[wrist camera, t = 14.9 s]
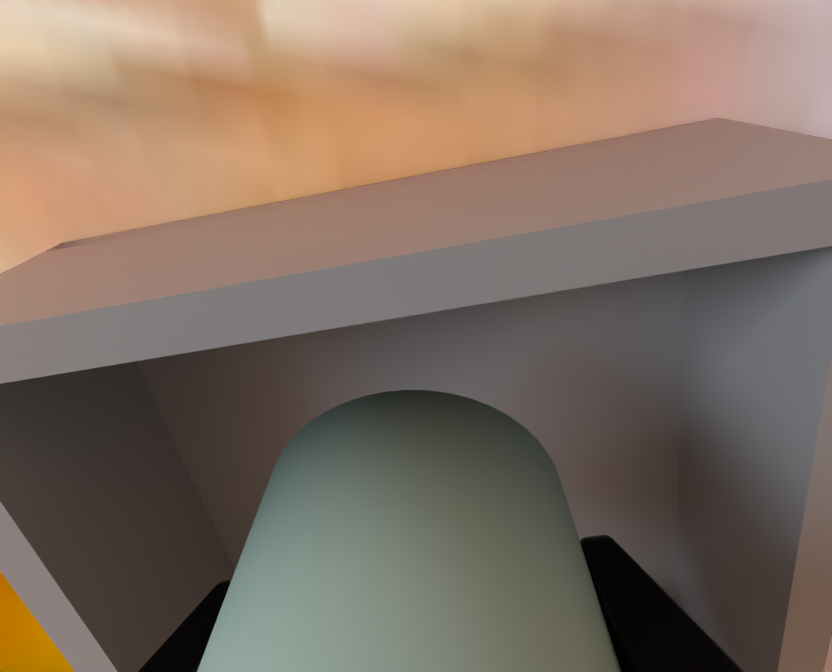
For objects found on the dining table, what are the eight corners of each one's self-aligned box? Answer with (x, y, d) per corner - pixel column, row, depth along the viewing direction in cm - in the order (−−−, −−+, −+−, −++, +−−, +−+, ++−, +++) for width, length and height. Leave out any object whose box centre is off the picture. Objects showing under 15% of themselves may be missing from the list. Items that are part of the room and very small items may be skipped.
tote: (718, 118, 10) (938, 159, 6) (689, 678, 18) (775, 880, 14) (62, 243, 12) (-162, 354, 7) (293, 716, 19) (254, 912, 15)
